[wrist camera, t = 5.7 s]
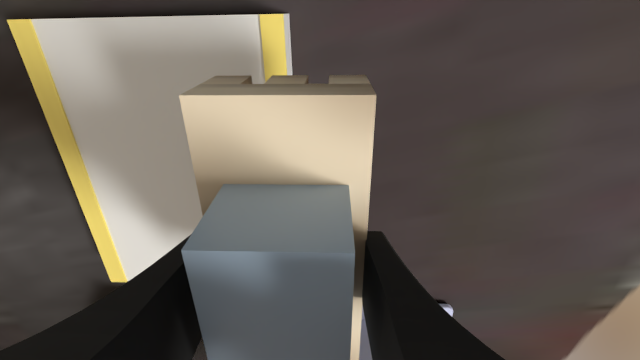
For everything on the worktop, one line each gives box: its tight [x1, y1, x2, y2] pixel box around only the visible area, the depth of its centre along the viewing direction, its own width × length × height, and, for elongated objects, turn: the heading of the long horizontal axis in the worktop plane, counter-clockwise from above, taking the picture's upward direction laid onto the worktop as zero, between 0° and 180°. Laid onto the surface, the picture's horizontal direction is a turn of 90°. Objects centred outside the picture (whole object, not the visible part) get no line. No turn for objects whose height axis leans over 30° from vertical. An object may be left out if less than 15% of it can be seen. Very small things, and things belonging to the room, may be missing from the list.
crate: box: [181, 184, 355, 360], centre depth 10 cm, size 6×4×3 cm, turn 1°
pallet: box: [179, 75, 376, 360], centre depth 12 cm, size 11×5×3 cm, turn 0°
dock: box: [7, 14, 292, 282], centre depth 18 cm, size 15×12×2 cm
